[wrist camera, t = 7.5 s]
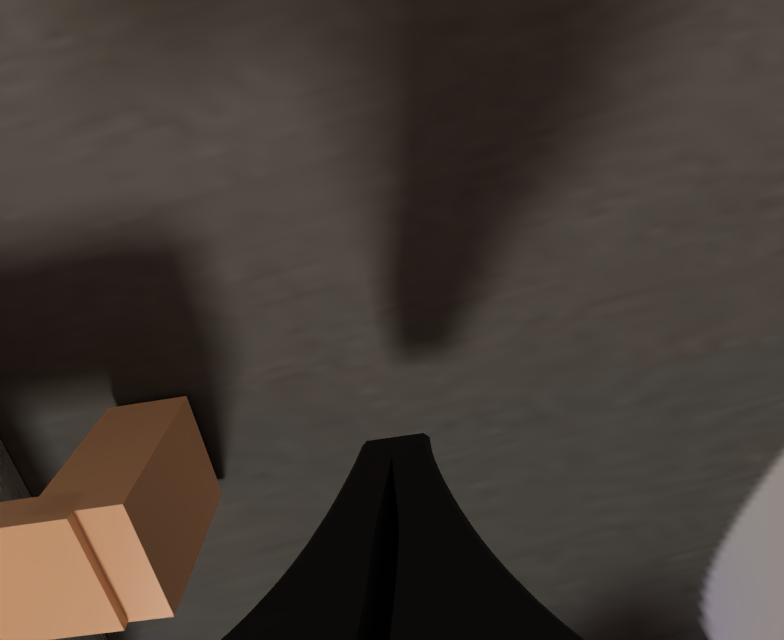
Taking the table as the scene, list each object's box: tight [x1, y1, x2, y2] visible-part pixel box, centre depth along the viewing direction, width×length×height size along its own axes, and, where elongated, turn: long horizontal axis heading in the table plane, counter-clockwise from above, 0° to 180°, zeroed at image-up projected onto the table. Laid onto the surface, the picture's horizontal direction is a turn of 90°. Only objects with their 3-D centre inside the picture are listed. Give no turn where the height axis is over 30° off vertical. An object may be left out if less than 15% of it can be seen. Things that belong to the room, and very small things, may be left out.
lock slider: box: [0, 396, 222, 640], centre depth 14 cm, size 3×8×4 cm, turn 100°
